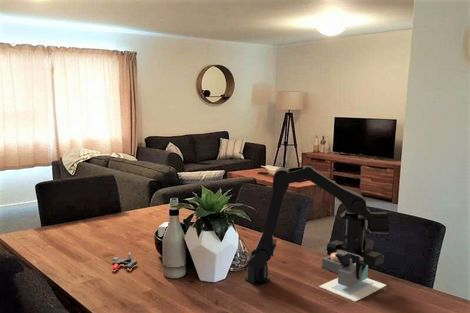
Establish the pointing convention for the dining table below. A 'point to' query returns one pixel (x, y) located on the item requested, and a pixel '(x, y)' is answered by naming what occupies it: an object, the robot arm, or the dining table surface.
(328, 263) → the button housing
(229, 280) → the dining table surface
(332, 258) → the button
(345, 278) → the grey and teal block
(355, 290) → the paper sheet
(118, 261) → the grey and red toy
